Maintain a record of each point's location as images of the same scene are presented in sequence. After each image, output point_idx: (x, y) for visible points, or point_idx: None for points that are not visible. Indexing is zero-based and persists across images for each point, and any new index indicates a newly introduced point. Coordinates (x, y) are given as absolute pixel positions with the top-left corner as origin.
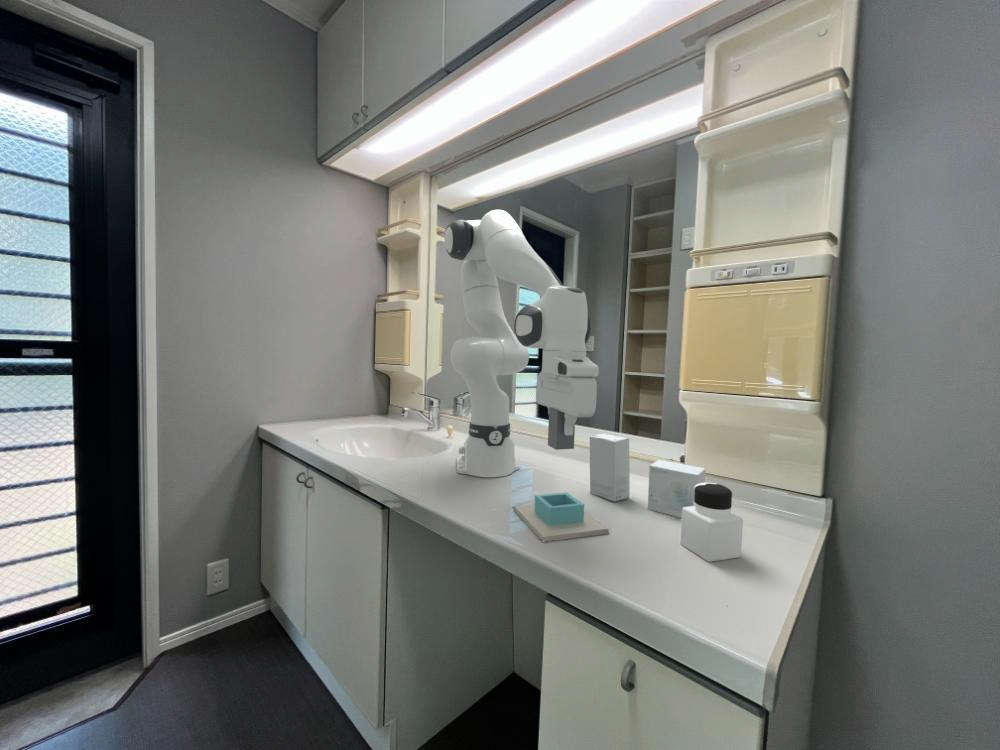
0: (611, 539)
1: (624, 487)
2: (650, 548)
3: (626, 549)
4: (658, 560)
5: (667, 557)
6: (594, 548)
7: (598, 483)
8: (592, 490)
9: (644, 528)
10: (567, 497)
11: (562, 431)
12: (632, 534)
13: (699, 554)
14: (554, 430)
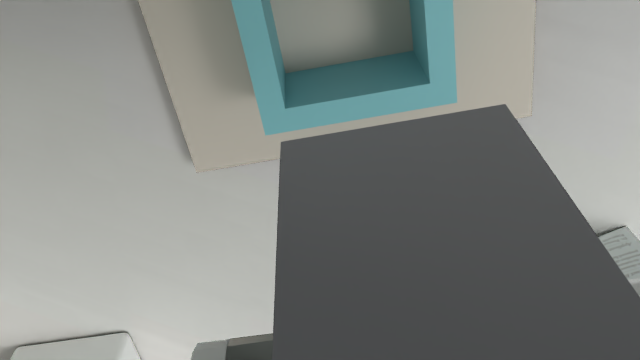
0: (148, 154)
1: None
2: (87, 247)
3: (68, 175)
4: (2, 237)
5: (29, 267)
6: (59, 67)
7: None
8: (616, 240)
9: (244, 285)
10: (395, 86)
11: (271, 351)
12: (194, 234)
13: (45, 345)
14: (356, 274)
